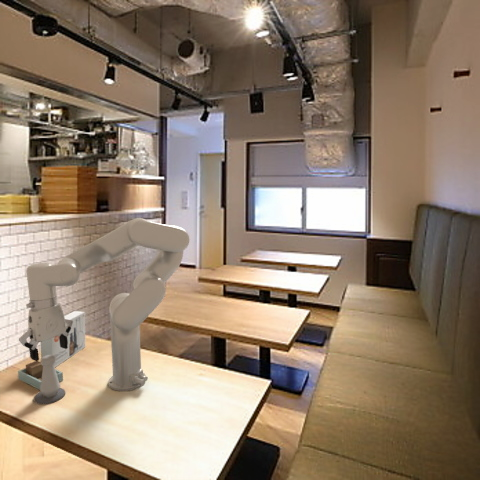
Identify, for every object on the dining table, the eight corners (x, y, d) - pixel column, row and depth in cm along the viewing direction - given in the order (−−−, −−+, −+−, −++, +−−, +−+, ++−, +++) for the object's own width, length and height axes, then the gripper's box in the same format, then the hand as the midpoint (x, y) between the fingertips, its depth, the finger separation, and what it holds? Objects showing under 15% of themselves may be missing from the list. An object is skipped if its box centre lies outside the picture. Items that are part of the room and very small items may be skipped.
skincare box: (53, 370, 141) (50, 329, 138) (40, 368, 142) (37, 328, 140) (87, 346, 161) (85, 311, 159) (75, 345, 162) (73, 310, 160)
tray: (63, 380, 133) (62, 372, 133) (40, 390, 126) (40, 382, 126) (40, 370, 140) (40, 362, 140) (18, 379, 134) (18, 371, 133)
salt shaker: (45, 389, 126) (42, 352, 124) (63, 389, 126) (60, 352, 124) (37, 399, 120) (34, 361, 118) (56, 398, 120) (53, 360, 118)
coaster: (70, 394, 124) (70, 392, 124) (44, 407, 117) (44, 405, 117) (54, 386, 129) (54, 384, 129) (28, 398, 121) (28, 397, 121)
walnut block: (43, 376, 136) (42, 363, 135) (32, 381, 133) (31, 367, 132) (37, 373, 138) (36, 360, 137) (26, 378, 135) (25, 364, 134)
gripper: (22, 313, 109) (29, 368, 112) (75, 296, 124) (81, 345, 126) (9, 309, 113) (16, 362, 116) (62, 293, 128) (67, 341, 130)
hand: (50, 353), depth 121 cm, fingers open, 9 cm apart
